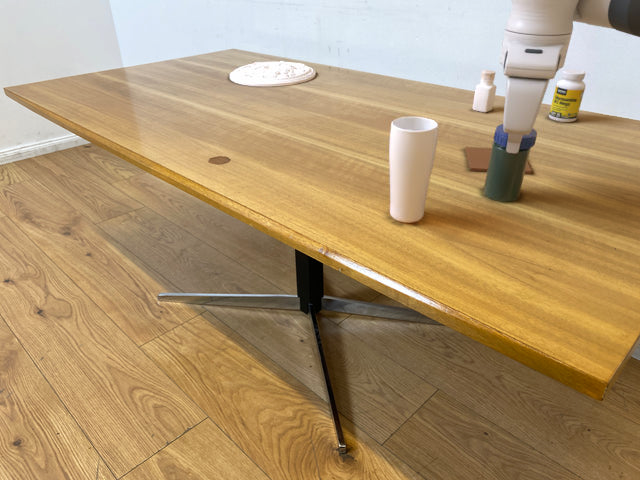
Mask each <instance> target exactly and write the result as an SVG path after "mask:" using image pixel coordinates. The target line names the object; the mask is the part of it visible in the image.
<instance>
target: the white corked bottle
mask: <svg viewBox="0 0 640 480" xmlns="http://www.w3.org/2000/svg"><path fill="white" fill-rule="evenodd" d="M495 79H496V71H495V70H491V69H485V70H482V71H481V73H480V83H478V84H476V86H475V90H474V96H473V102H472V110H473V111H477V112H481V113H487V112H490V111H492V110H493V109H494V103H495V99H496V98H495V97H496V92H497V85H496V84H494V81H495Z"/></svg>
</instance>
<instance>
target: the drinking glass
mask: <svg viewBox="0 0 640 480" xmlns="http://www.w3.org/2000/svg"><path fill="white" fill-rule="evenodd" d="M438 136H439V124H438V122H436V120H434V119H431V118H429V117H423V116H402V117H397V118H395V119H394V120H392V121H391V123H390V131H389V141H388V142H389V143H388V166H389V215H390V217H391V218H392V219H393V220H395V221H396V222H399V223H400V222H401V223H404V224H411V223H416V222H419V221H421V220H422V219H423V217H424V215H425V209H426V208H425V207H426V203H427V197H428V193H429V191H428V190H429V187H430V182H431V177H432V172H433V168H434V163H435V159H436V154H437V153H436V152H437V145H438Z"/></svg>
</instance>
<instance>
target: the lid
mask: <svg viewBox="0 0 640 480" xmlns="http://www.w3.org/2000/svg"><path fill="white" fill-rule="evenodd" d="M537 136H538V131H537V130H536V129H534V127H533V128H532V130H531V132H530V134H529V135H523V137H522V140H521V143H520V147H519V149H529V148H531V149H532V148H533V147H534V146H535V145H536V140H537ZM493 141H495V142H496V143H497V144H499V145H501V146H503V147H507V143H508V133H505V132H504V130H503V123H501V124H499V125H497V126H496V128H495V130H494V134H493Z"/></svg>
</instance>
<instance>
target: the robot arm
mask: <svg viewBox="0 0 640 480" xmlns="http://www.w3.org/2000/svg"><path fill="white" fill-rule="evenodd" d="M574 22H576V23H582V24H586V25H588V26H589V25H590V26H595V27H601V28H607V29H613V30H616V31H618V32H621V33H624V34H627V35H632V36H634V37H638V38H640V0H511V10H510V14H509V17H508V20H507V21H506V24H505V28H504V32H503V38H502V44H501V48H500V54H499V60H498V62H499V64H500V65H501V66H502V68H503V75H504V76H505V77H506V78H505V79H506V80H505V81H506V83H505V95H504V105H503V106H504V107H503V117H502V119H503V122H502V124H503V130H504V132H505V133H508V143H507V148H506V151H507V152H508V153H514V154H516V153H518V151H519V147H520V143H521V140H522V137H523V135H529V134H530V132H531V130H532V128H533V129H534V125H535V124H536V121H537V118H538V115H539V112H540V110H541V106H542V104H543V101H544V97H545V95H546V92H547V89H548V86H549V83H550V80H554V79H555V77H556V75H557V72H558V71H560V70H561V69H562V68H564V66H565V62H566V59H567V55H568V50H569V47H570V43H571V39H572V35H573V31H574Z"/></svg>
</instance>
